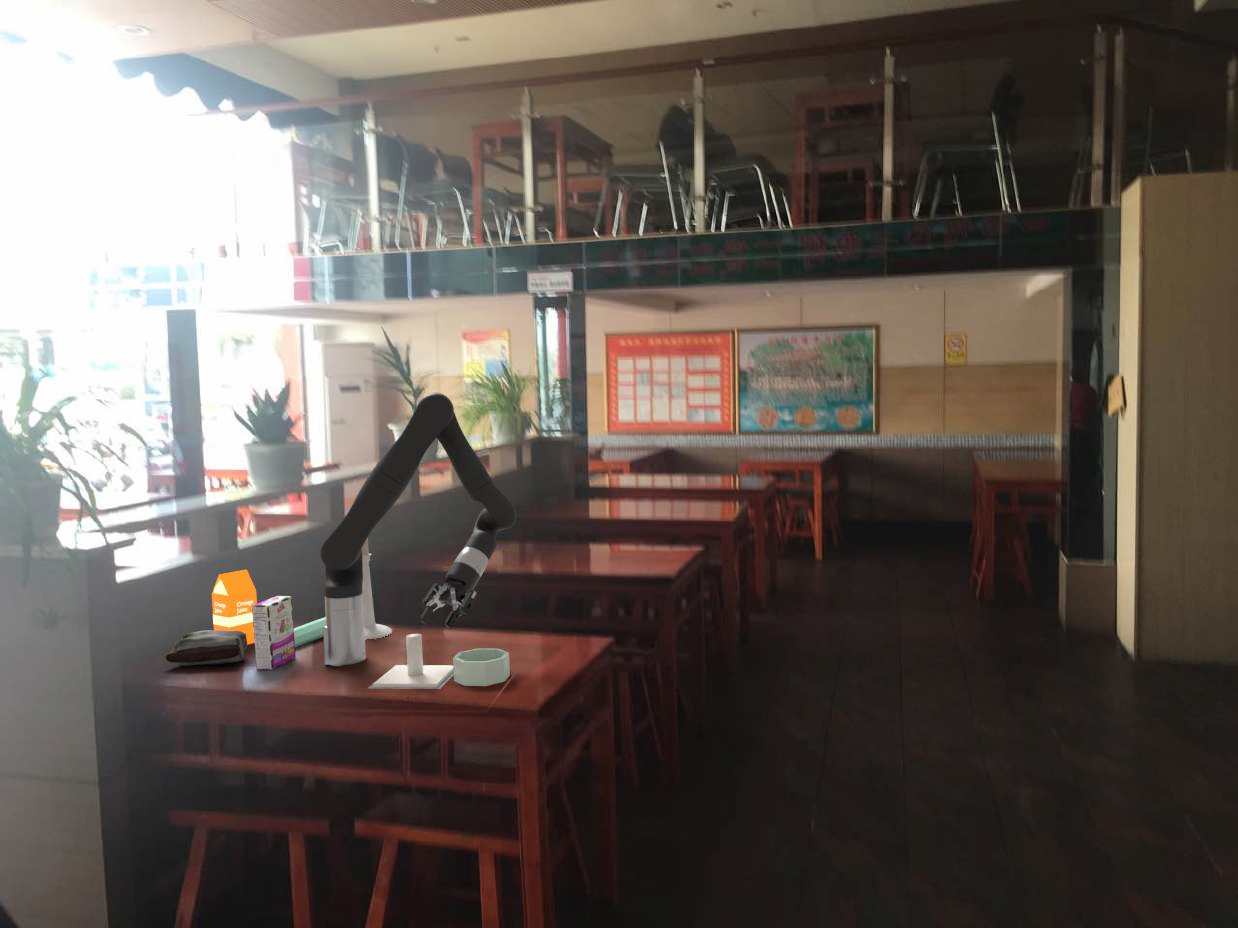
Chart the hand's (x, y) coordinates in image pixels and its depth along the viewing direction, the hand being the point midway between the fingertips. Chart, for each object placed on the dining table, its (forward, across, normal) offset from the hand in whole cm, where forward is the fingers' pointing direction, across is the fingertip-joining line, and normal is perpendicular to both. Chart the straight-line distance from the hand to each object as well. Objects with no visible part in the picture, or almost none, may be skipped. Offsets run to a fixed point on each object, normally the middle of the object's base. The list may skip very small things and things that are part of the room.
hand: (435, 624), depth 235 cm
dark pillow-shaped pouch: (+26, -57, -9) cm, 63 cm away
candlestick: (-3, -46, +20) cm, 50 cm away
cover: (+13, 0, +3) cm, 13 cm away
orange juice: (+15, -70, +2) cm, 72 cm away
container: (+7, -55, +10) cm, 56 cm away
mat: (+13, 0, +4) cm, 14 cm away
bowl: (+8, +14, +9) cm, 18 cm away
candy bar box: (+20, -42, -3) cm, 46 cm away
